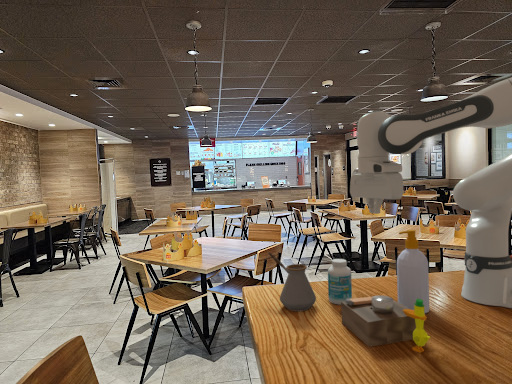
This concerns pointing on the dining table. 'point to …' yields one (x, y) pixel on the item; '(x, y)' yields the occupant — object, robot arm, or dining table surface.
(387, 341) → the brown square block
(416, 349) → the toy figure
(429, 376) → the dining table surface
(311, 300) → the coffee pot
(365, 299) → the bar
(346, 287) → the pill bottle
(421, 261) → the soap bottle
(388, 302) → the steel pin
